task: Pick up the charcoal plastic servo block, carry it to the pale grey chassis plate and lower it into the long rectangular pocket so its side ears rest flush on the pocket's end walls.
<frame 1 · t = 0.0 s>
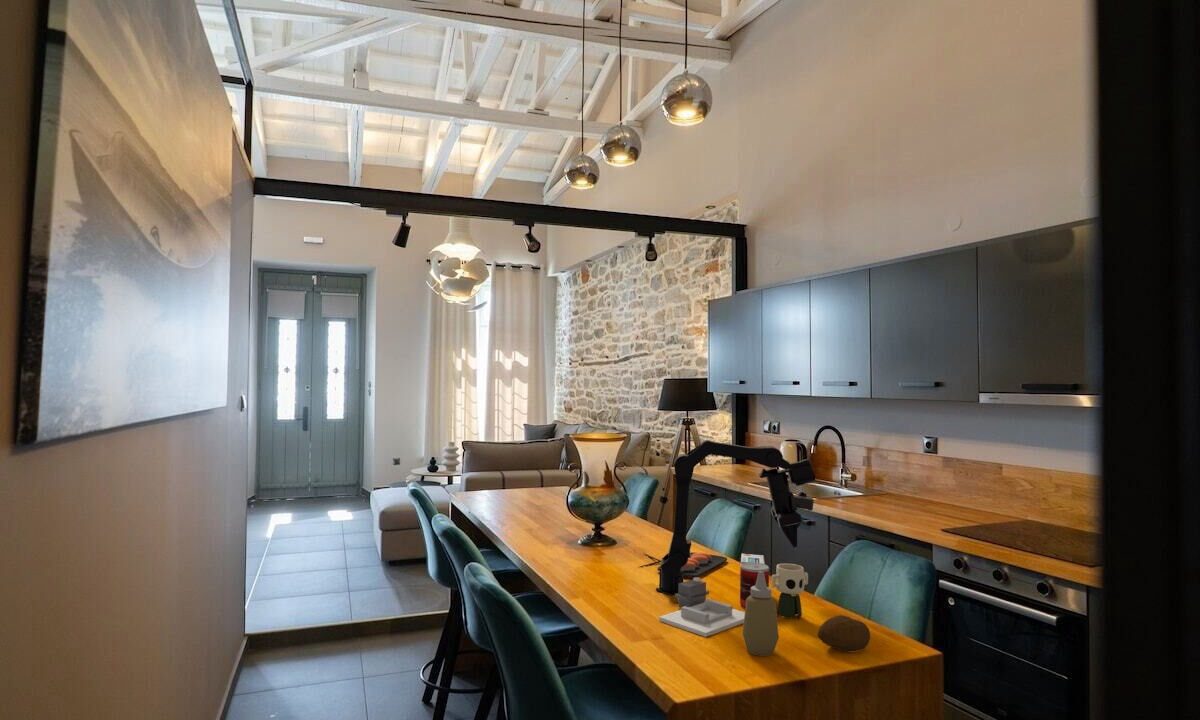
hand: (792, 543, 204), 15 cm above the table, tool pointing down, fingers open, 9 cm apart
squeeze bottle: (760, 652, 162), on the table
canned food: (754, 607, 195), on the table
sushi plate: (672, 565, 239), on the table
light bulb box: (752, 596, 205), on the table
character mug: (789, 617, 187), on the table
chassis plate: (706, 619, 183), on the table
servo block: (692, 604, 195), on the table
potato: (843, 651, 164), on the table
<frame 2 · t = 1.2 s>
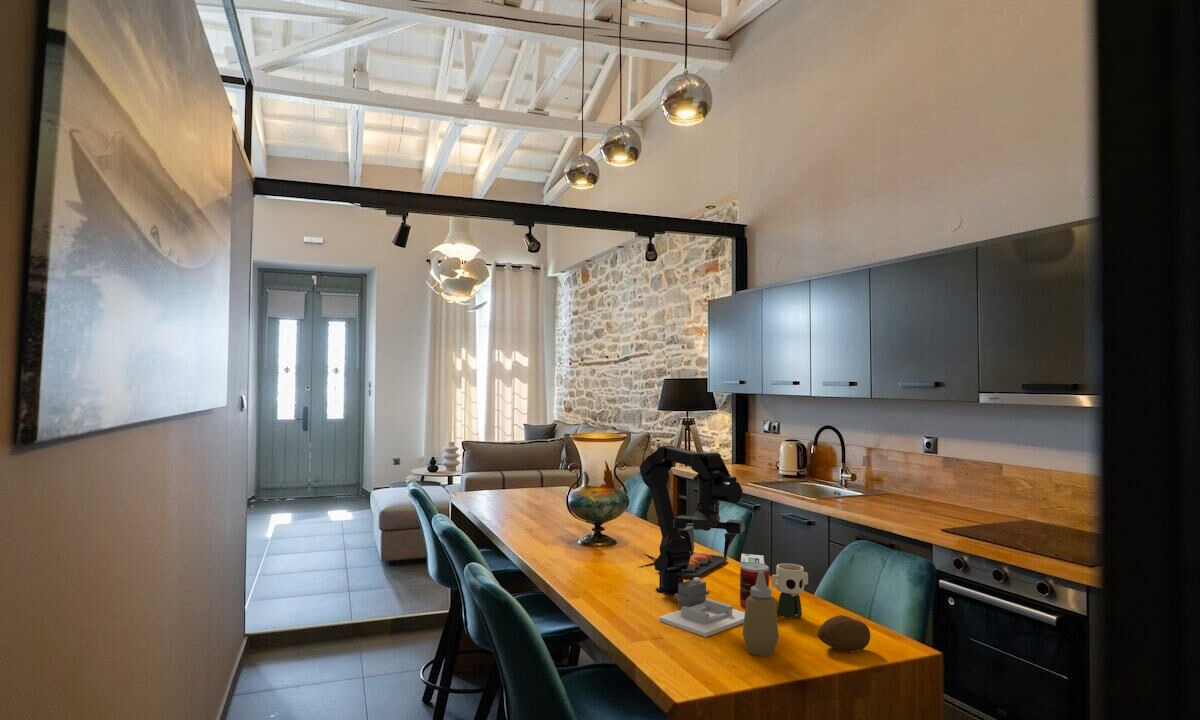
hand: (708, 556, 194), 14 cm above the table, tool pointing down, fingers open, 9 cm apart
nothing on the table moved.
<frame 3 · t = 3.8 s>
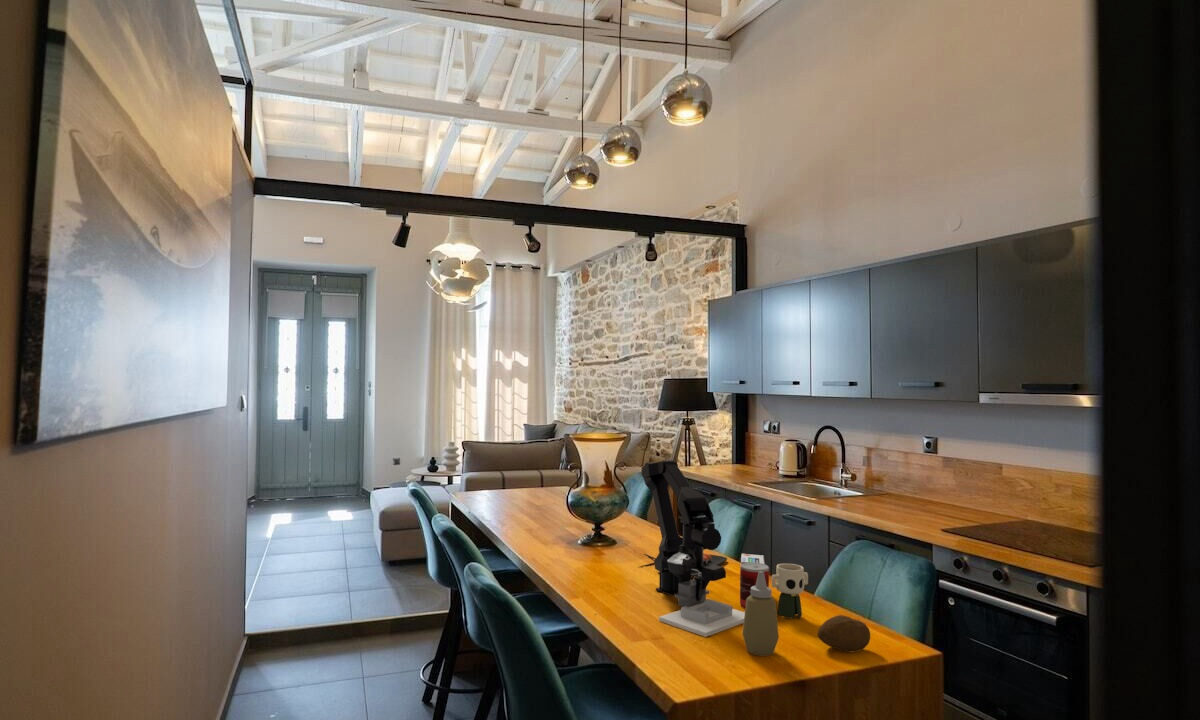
hand: (692, 598, 195), 2 cm above the table, tool pointing down, fingers closed on servo block, 4 cm apart
servo block: (692, 604, 195), on the table, touching gripper
everything else where it was.
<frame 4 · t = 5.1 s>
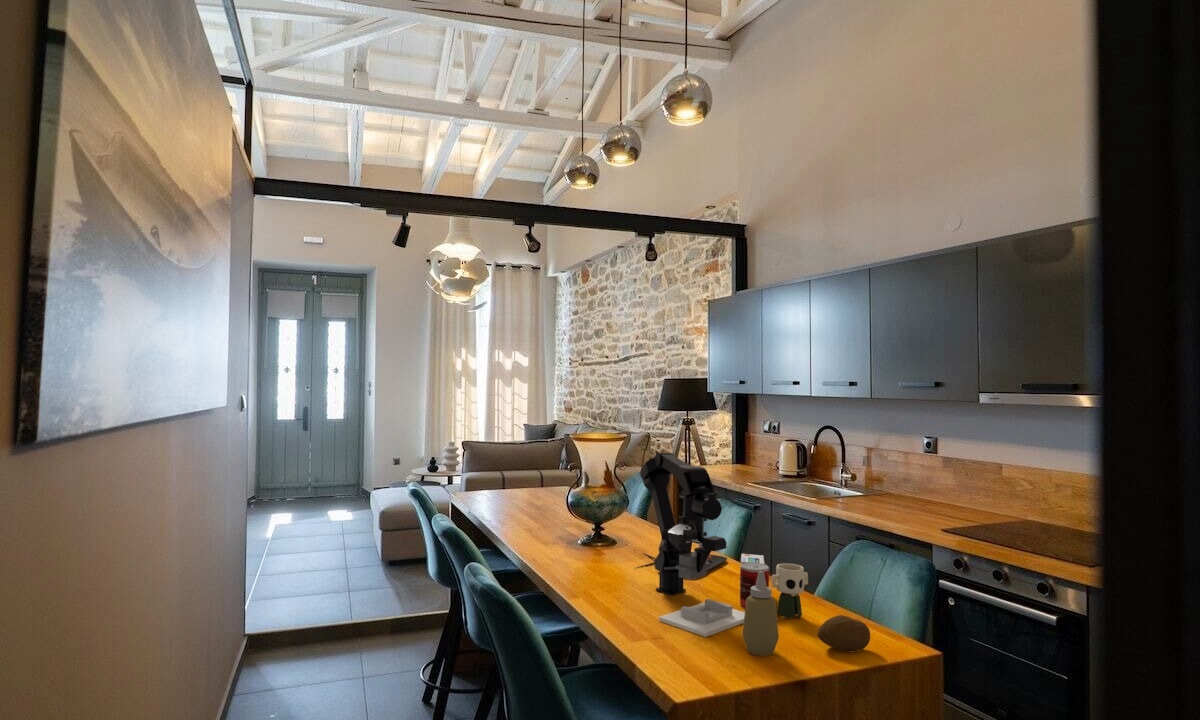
hand: (692, 570, 195), 9 cm above the table, tool pointing down, fingers closed on servo block, 4 cm apart
servo block: (692, 576, 195), point 8 cm above the table, touching gripper
everything else where it was.
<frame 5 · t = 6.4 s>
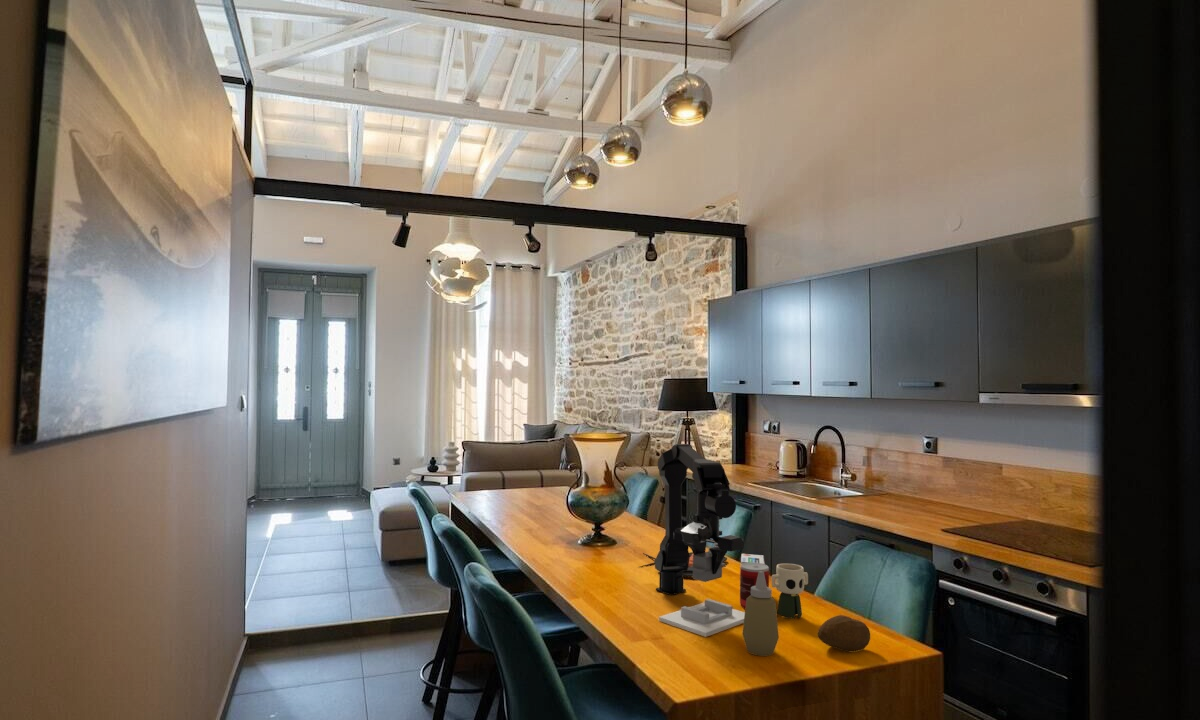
hand: (707, 572, 183), 12 cm above the table, tool pointing down, fingers closed on servo block, 4 cm apart
servo block: (707, 578, 183), point 11 cm above the table, touching gripper
everything else where it was.
when the fingers open (3 cm above the table, at t = 9.1 s): servo block stays where it is, resting on chassis plate.
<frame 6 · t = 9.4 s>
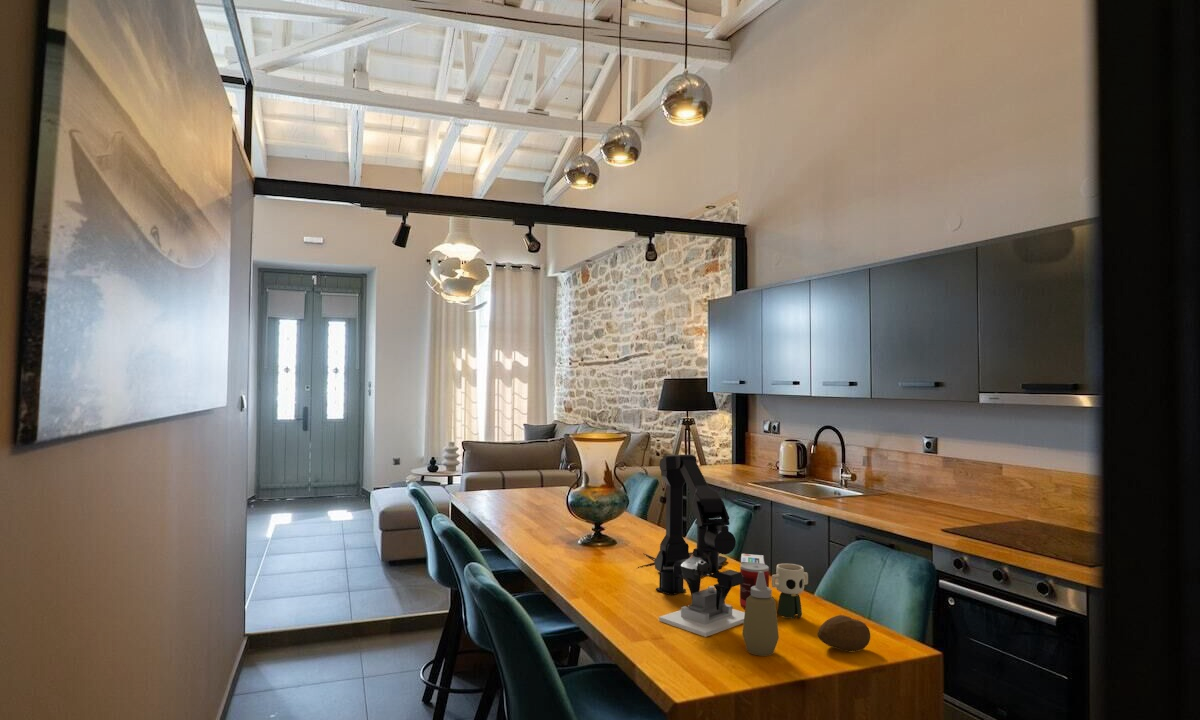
hand: (706, 606, 183), 3 cm above the table, tool pointing down, fingers open, 7 cm apart
servo block: (706, 615, 183), point 1 cm above the table, touching chassis plate
everything else where it was.
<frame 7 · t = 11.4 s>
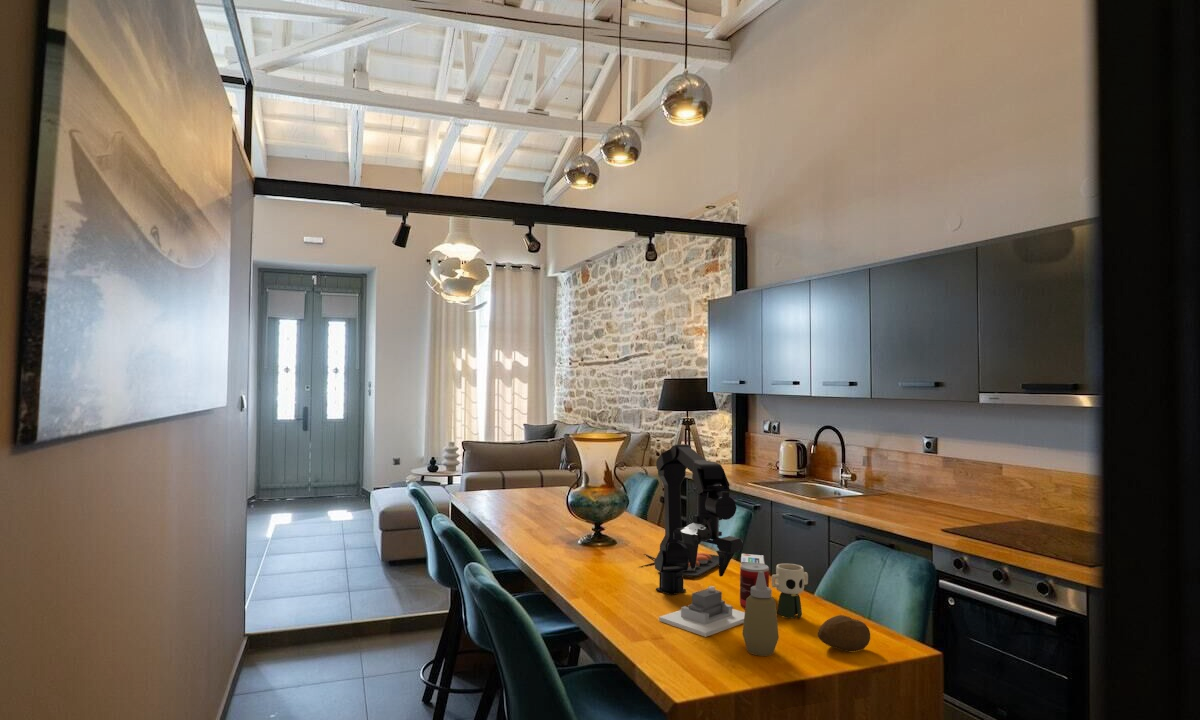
hand: (706, 572, 185), 12 cm above the table, tool pointing down, fingers open, 9 cm apart
nothing on the table moved.
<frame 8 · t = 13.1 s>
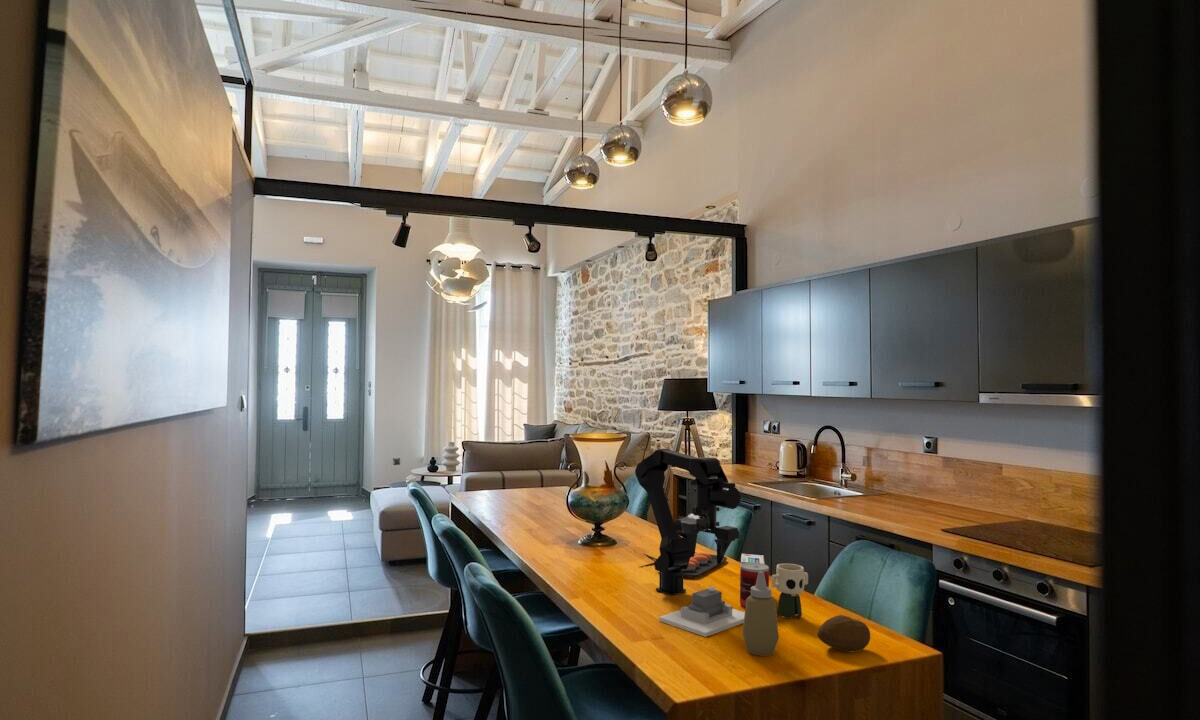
hand: (705, 560, 196), 12 cm above the table, tool pointing down, fingers open, 9 cm apart
nothing on the table moved.
at the end: servo block 0.0 cm off-centre on the chassis plate, point 1.0 cm above the chassis plate's base; servo block tilted 0°; the gripper is holding nothing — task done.
